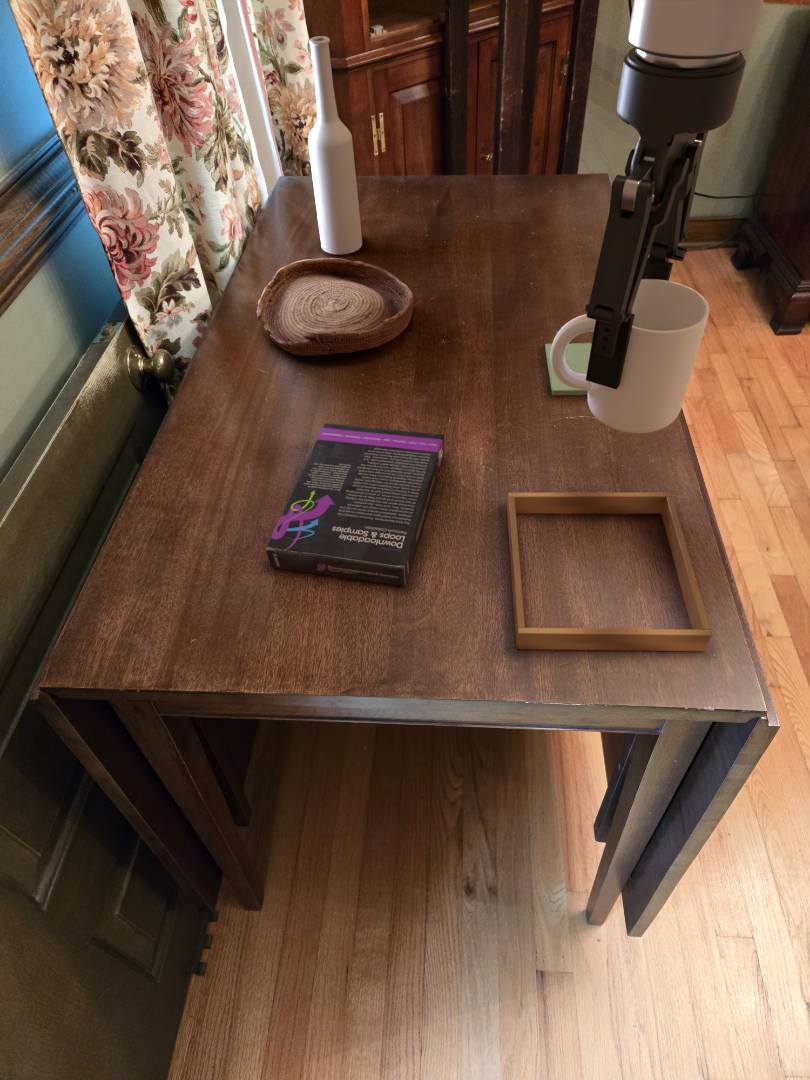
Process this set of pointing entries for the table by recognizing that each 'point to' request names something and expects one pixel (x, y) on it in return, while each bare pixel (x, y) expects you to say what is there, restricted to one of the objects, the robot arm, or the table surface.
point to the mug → (644, 358)
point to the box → (359, 504)
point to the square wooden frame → (609, 637)
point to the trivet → (576, 362)
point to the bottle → (332, 163)
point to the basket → (333, 307)
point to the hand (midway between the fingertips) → (622, 354)
